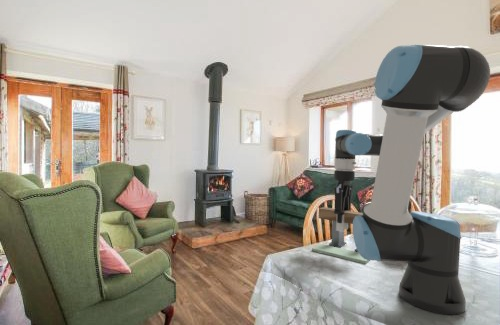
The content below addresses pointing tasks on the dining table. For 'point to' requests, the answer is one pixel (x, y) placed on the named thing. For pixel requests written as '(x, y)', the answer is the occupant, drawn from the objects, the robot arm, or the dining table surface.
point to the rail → (329, 215)
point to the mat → (340, 253)
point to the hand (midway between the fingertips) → (342, 229)
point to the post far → (337, 237)
